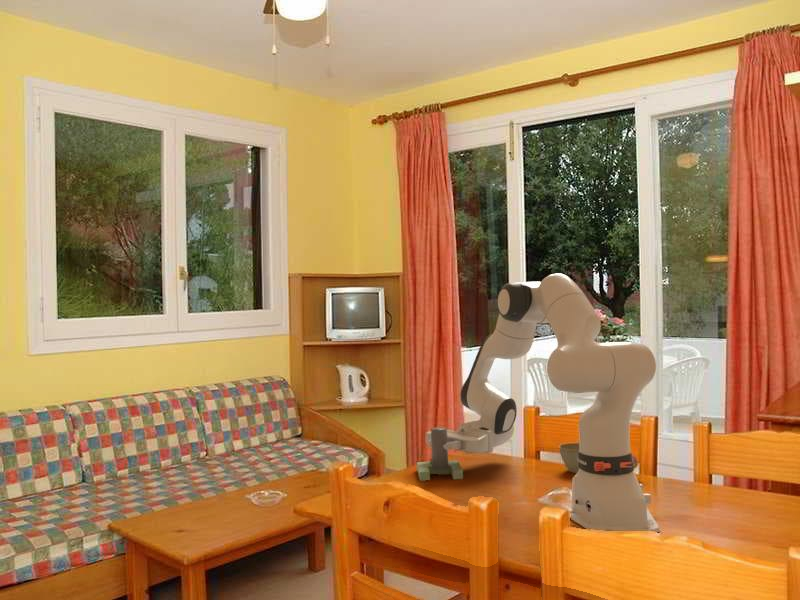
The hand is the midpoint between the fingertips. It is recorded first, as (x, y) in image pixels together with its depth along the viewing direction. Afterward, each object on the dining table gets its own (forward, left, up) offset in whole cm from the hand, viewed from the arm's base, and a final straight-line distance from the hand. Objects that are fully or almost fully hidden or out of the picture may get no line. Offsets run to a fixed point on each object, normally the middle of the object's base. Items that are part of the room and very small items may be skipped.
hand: (437, 445), depth 202 cm
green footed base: (+3, -1, -9) cm, 10 cm away
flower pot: (0, -40, -9) cm, 41 cm away
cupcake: (-10, -49, -9) cm, 50 cm away
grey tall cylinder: (+1, -1, -6) cm, 7 cm away
